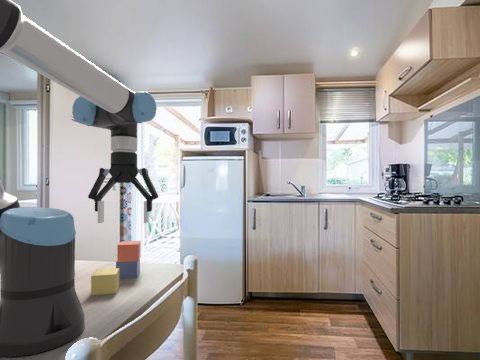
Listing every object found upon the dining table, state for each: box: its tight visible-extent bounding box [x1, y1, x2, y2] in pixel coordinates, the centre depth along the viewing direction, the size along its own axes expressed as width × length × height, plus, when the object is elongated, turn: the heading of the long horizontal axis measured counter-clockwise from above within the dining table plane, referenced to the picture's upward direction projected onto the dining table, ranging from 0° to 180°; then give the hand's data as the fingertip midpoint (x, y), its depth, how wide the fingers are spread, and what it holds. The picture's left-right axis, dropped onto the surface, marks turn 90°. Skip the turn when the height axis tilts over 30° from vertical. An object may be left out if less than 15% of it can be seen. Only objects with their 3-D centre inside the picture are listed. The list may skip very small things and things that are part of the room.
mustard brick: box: [90, 267, 120, 296], centre depth 84 cm, size 6×6×5 cm
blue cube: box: [115, 258, 141, 279], centre depth 98 cm, size 6×6×5 cm
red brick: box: [116, 240, 142, 262], centre depth 98 cm, size 6×6×5 cm
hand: (123, 222), depth 96 cm, fingers open, 13 cm apart
